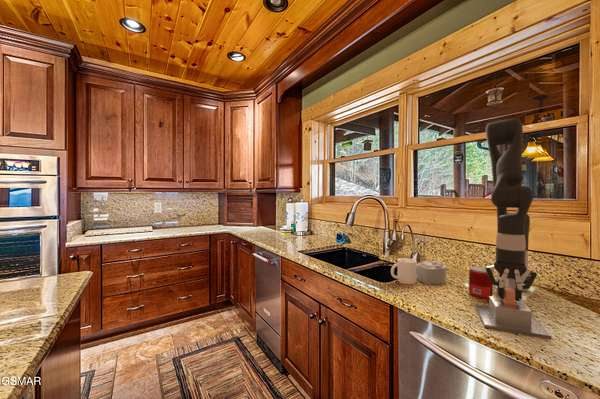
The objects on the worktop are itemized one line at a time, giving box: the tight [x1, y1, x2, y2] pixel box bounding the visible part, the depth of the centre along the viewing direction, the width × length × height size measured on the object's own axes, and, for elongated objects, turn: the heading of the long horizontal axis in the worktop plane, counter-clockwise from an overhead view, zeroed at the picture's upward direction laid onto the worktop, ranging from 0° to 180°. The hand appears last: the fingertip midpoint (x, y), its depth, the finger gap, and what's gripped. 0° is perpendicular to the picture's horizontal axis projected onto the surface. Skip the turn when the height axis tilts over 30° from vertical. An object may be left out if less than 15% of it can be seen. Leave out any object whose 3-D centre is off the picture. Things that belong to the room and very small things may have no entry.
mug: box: [390, 257, 417, 286], centre depth 124 cm, size 12×8×10 cm
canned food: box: [468, 265, 494, 300], centre depth 108 cm, size 8×8×11 cm
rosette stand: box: [474, 270, 552, 340], centre depth 88 cm, size 18×16×17 cm
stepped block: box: [502, 288, 516, 307], centre depth 87 cm, size 3×3×9 cm
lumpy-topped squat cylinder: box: [416, 260, 447, 285], centre depth 127 cm, size 10×13×9 cm
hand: (509, 299), depth 87 cm, fingers open, 3 cm apart
